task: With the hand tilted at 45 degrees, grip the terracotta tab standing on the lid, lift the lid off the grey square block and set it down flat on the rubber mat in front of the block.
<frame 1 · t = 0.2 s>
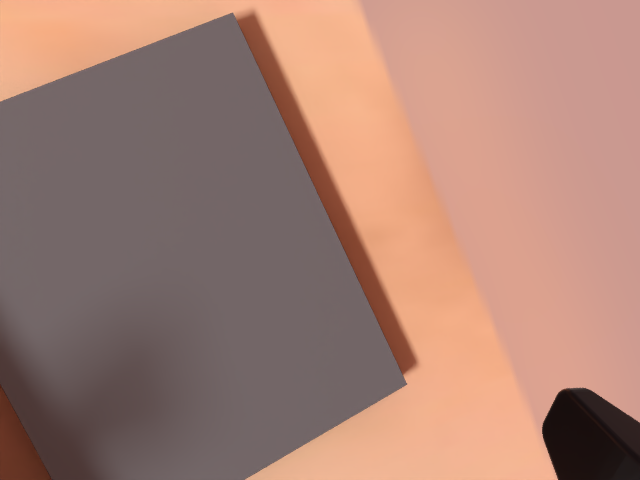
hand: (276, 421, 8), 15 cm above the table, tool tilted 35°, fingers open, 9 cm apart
mat: (168, 278, 22), on the table
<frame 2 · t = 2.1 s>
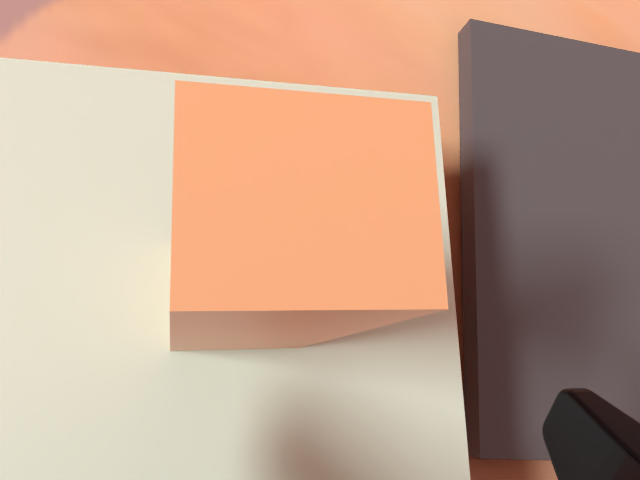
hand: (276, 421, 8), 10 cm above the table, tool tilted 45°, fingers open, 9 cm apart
mat: (612, 242, 23), on the table
lid: (228, 306, 16), point 3 cm above the table, touching grey square block
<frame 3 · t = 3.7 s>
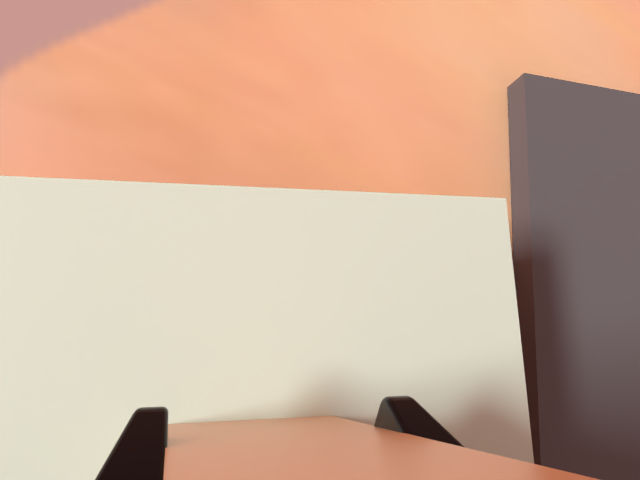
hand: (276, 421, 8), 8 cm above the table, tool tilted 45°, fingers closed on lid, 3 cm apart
lid: (239, 475, 12), point 3 cm above the table, touching gripper, grey square block
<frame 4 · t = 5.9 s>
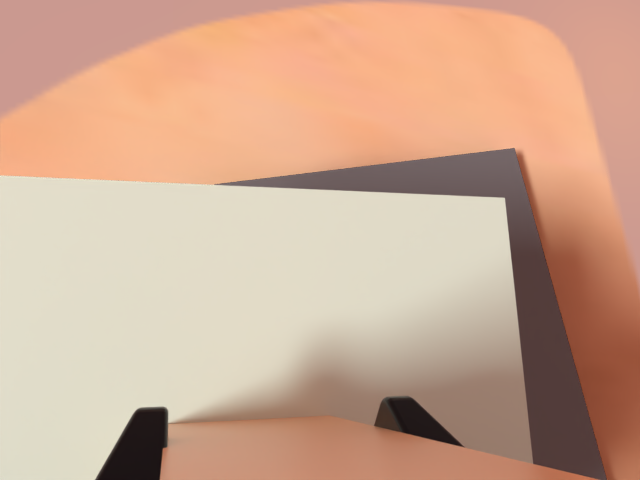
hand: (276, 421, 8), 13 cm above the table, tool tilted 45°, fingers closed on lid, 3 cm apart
mat: (411, 364, 23), on the table
lid: (238, 475, 12), point 9 cm above the table, touching gripper
when the fingers open (8 cm above the table, at t = 8.1 s): lid drops 2 cm, resting on mat.
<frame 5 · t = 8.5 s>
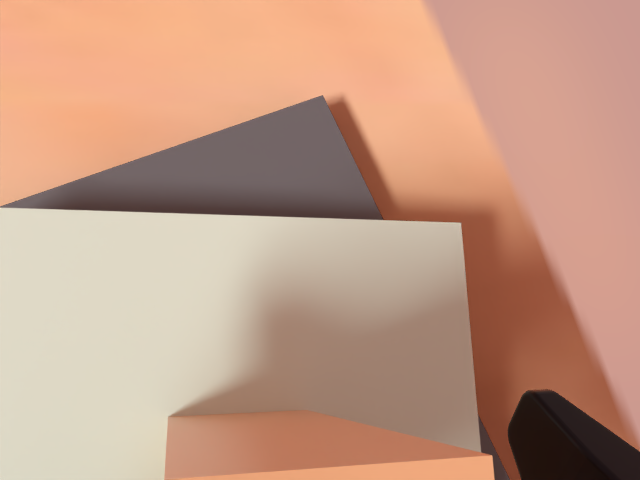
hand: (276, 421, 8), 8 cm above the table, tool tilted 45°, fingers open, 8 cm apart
mat: (226, 455, 15), on the table
lid: (230, 461, 14), point 1 cm above the table, touching mat
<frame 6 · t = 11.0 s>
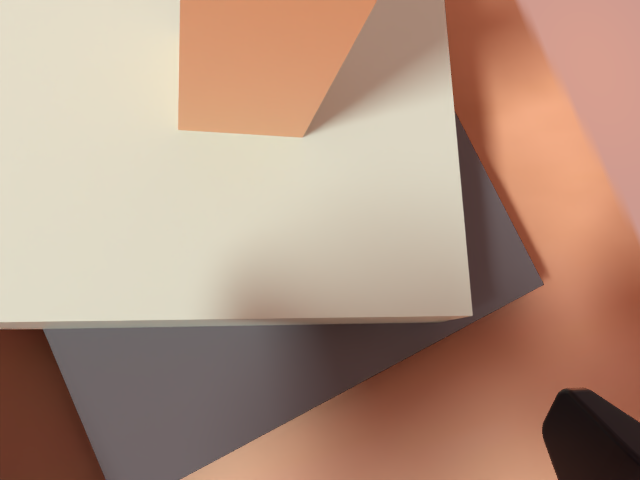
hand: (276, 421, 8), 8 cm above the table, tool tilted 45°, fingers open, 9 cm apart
mat: (230, 132, 17), on the table
lid: (233, 119, 16), point 1 cm above the table, touching mat
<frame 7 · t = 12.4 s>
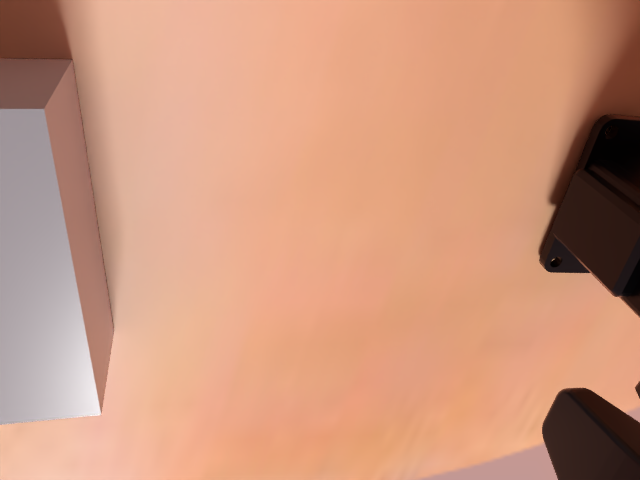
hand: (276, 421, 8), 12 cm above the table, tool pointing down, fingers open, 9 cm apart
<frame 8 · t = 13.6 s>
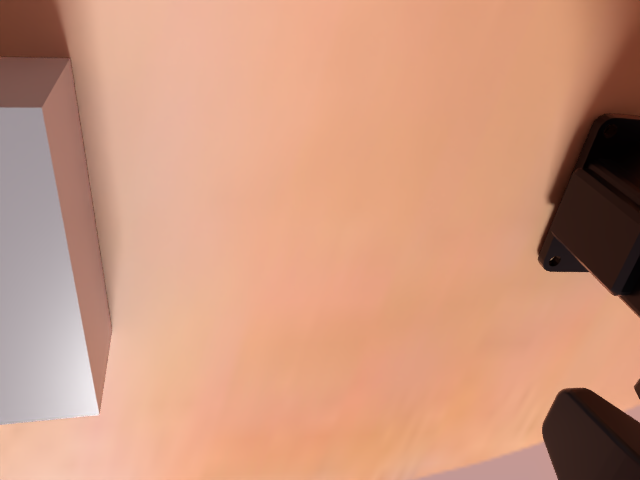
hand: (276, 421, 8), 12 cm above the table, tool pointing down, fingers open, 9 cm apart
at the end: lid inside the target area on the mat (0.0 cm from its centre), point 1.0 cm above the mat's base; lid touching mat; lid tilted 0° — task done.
